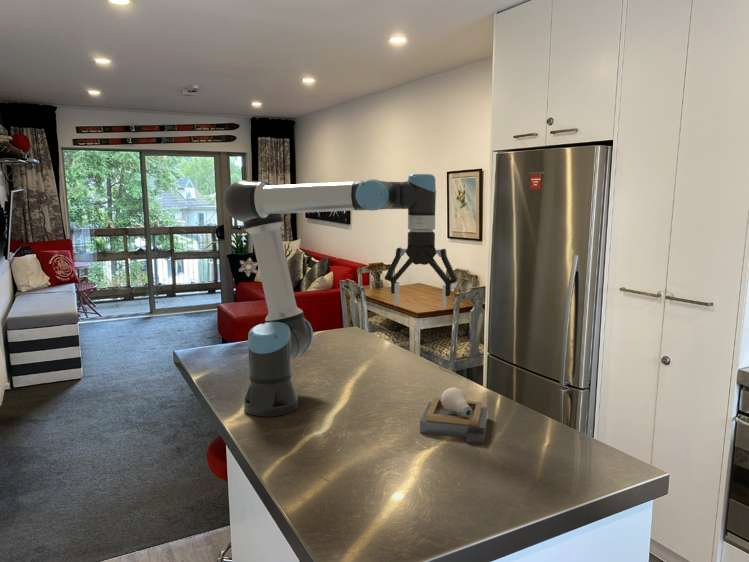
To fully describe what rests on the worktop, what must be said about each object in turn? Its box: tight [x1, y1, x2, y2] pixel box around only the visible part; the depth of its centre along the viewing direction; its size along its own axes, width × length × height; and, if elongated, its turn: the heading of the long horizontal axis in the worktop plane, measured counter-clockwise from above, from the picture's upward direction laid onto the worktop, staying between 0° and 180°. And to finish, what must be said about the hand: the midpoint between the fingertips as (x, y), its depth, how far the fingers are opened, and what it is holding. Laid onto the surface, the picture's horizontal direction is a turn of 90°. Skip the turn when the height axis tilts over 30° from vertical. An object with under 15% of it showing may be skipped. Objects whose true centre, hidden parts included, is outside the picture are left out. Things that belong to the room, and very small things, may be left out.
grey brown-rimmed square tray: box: [419, 397, 489, 445], centre depth 145 cm, size 16×21×4 cm
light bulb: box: [441, 386, 472, 417], centre depth 143 cm, size 7×7×11 cm
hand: (420, 306), depth 156 cm, fingers open, 13 cm apart
